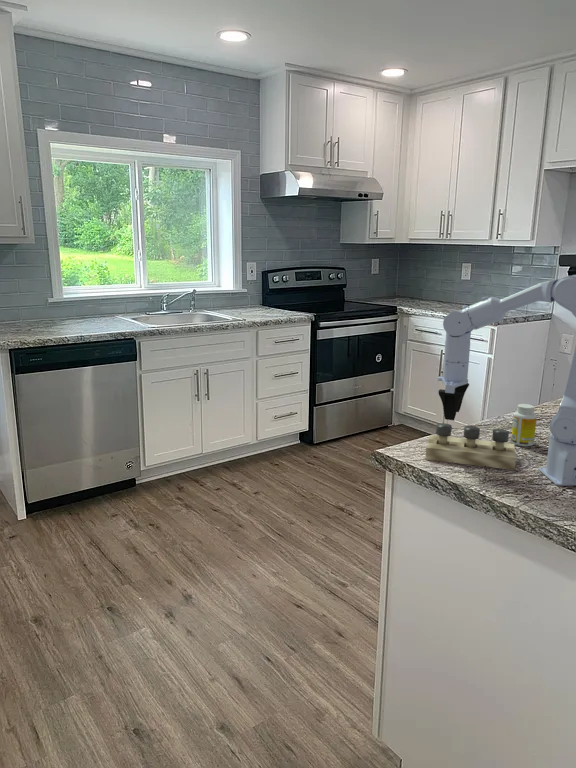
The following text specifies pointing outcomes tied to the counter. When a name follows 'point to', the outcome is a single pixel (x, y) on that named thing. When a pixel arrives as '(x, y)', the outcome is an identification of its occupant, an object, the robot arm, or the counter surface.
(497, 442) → the knob near
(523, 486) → the counter surface
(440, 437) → the knob far
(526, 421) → the supplement bottle
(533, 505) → the counter surface
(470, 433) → the knob middle
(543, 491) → the counter surface
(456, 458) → the knob mount
